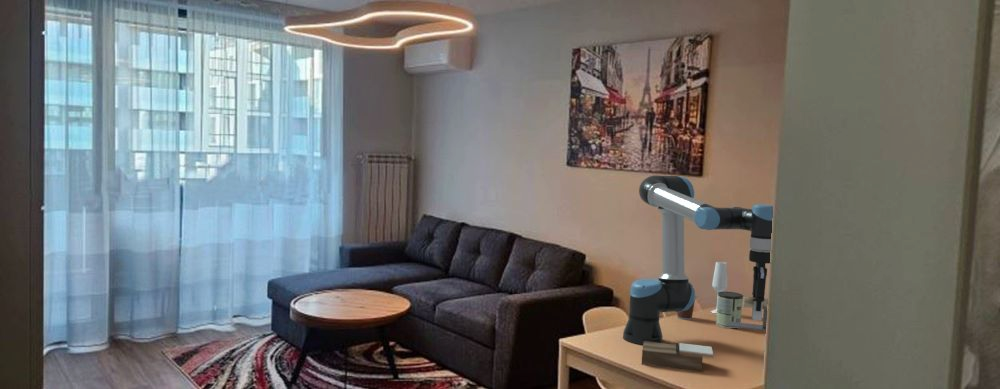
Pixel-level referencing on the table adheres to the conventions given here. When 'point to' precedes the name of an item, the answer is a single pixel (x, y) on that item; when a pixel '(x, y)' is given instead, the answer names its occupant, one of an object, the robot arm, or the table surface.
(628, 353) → the table surface
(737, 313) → the coffee can
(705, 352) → the tile
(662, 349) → the flip board
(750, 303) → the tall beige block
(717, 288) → the champagne flute
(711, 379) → the table surface
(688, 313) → the coffee cup
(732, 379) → the table surface
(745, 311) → the table surface
